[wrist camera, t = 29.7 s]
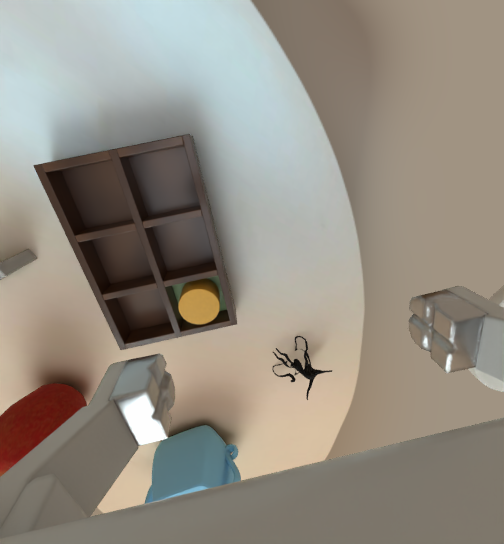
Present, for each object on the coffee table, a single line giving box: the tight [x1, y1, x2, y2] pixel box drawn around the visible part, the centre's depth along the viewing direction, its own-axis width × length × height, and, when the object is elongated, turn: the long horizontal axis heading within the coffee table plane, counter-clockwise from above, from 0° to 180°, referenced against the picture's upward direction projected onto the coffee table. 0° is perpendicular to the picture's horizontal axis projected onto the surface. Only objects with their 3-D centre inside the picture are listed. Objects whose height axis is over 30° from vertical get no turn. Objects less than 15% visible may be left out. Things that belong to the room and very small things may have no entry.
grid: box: [34, 134, 237, 350], centre depth 33 cm, size 15×23×4 cm
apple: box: [0, 383, 87, 477], centre depth 35 cm, size 10×10×14 cm
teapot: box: [145, 425, 241, 504], centre depth 44 cm, size 12×18×12 cm
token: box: [178, 278, 220, 324], centre depth 36 cm, size 5×5×3 cm
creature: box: [273, 336, 332, 400], centre depth 42 cm, size 8×5×8 cm
